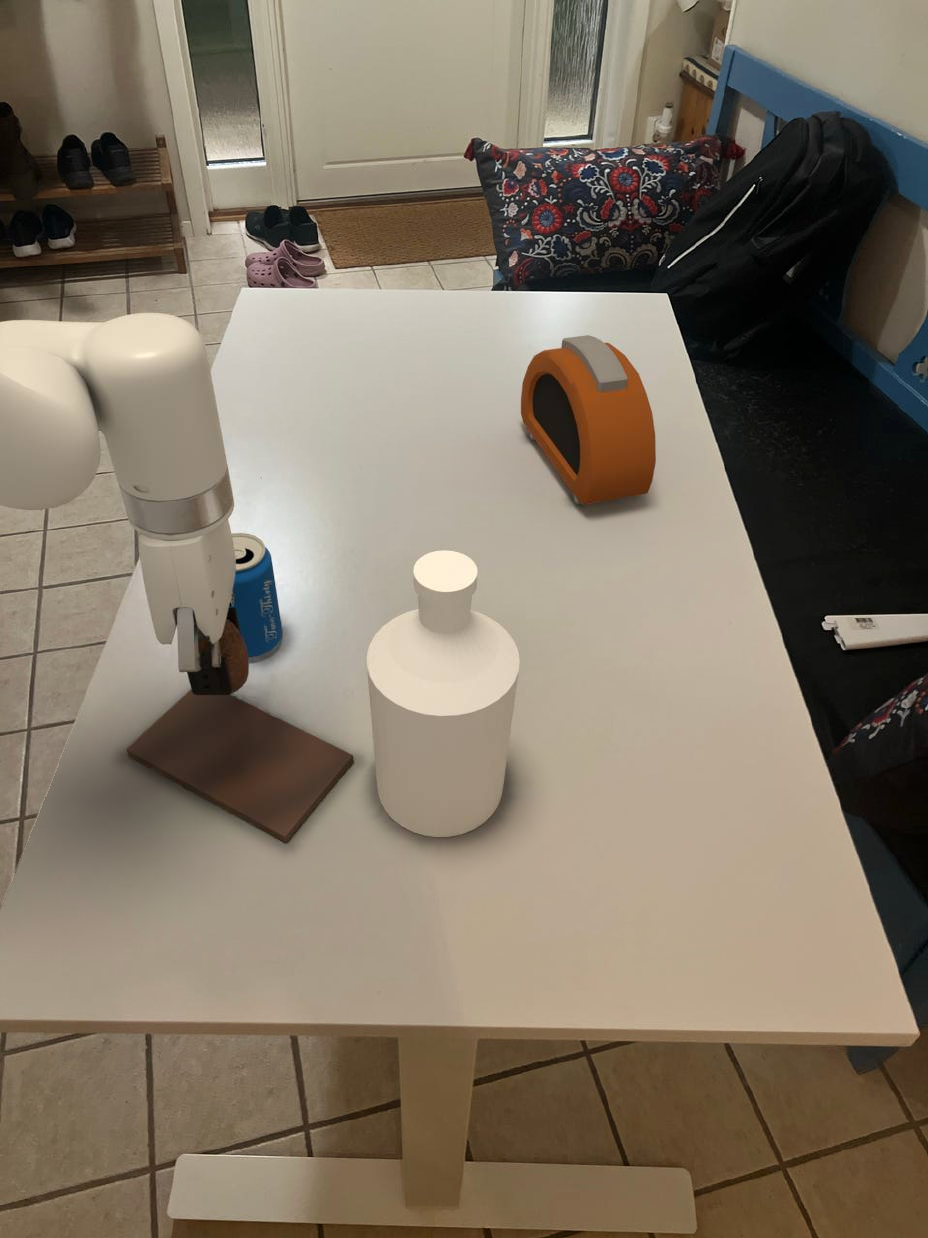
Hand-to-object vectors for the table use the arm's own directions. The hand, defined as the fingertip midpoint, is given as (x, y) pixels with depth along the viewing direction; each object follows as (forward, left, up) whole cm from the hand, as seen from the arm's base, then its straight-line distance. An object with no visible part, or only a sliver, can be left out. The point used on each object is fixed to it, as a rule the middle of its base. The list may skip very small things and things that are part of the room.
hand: (218, 665), depth 76 cm
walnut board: (+2, -2, -10) cm, 10 cm away
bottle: (+19, +5, -10) cm, 22 cm away
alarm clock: (+9, +59, -10) cm, 61 cm away
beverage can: (-7, +11, -10) cm, 16 cm away
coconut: (0, 0, -3) cm, 3 cm away
